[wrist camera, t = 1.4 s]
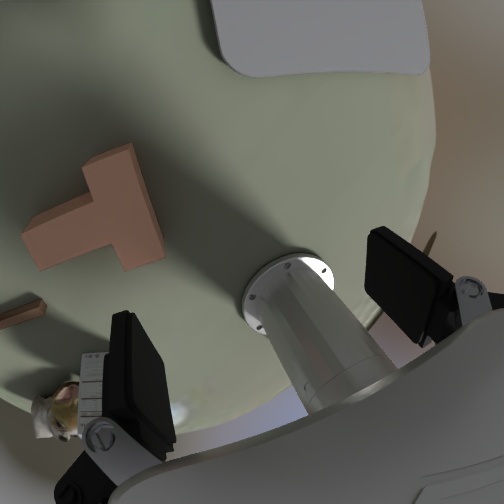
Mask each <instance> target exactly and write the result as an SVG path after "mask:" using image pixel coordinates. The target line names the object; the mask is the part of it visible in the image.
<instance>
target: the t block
mask: <svg viewBox="0 0 504 504" xmlns="http://www.w3.org/2000/svg"><path fill="white" fill-rule="evenodd" d="M82 171H83V173H84V176H85V179H86V182H87V184H88V187H89V190H90V192H88V193H86V194H83V195H81V196H78V197H76V198H74V199H71V200H69V201H67V202H65V203H62V204H60V205H58V206H56V207H53V208H51V209H49V210H47V211H45V212H43V213H41V214H39V215H36V216H34V217H33V219H32V220H31V221H30V222H29V224H28V225H27V226H26V228H25V229H24V230H23V232H22V233H21V234H20V235H21V237H22V239H23V241H24V243H25V245H26V247H27V249H28V251H29V253H30V255H31V257H32V258H33V260H34V262H35V264H36V266H37V267H38V269H39V271H42V270H45V269H47V268H50V267H52V266H55V265H57V264H60V263H62V262H65V261H67V260H70V259H72V258H75V257H77V256H80V255H83V254H85V253H88V252H91V251H93V250H96V249H99V248H101V247H104V246H107V245H109V244H112V245H113V248H114V250H115V252H116V254H117V256H118V258H119V260H120V263H121V265H122V267H123V269H124V271H128V270H131V269H134V268H137V267H140V266H143V265H146V264H149V263H152V262H155V261H158V260H161V259H164V258H166V256H165V248H164V239H163V235H162V233H161V230H160V227H159V224H158V221H157V219H156V216H155V213H154V210H153V207H152V204H151V201H150V198H149V195H148V192H147V189H146V186H145V183H144V180H143V177H142V173H141V170H140V167H139V164H138V160H137V157H136V154H135V150H134V147H133V144H132V142H131V143H128V144H125V145H122V146H119V147H117V148H114V149H111V150H109V151H106V152H104V153H101V154H99V155H96V156H94V157H91V158H90V159H89V160H88V161H87V162H86V163H85V165H84V166H83V167H82Z"/></svg>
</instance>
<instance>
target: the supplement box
mask: <svg viewBox="0 0 504 504" xmlns="http://www.w3.org/2000/svg"><path fill="white" fill-rule="evenodd" d="M107 353H109V352H96V353H83V354H82V359H81V370H80V381H79V396H78V417H77V433H78V436H79V437H80V438H81V439H82V433H83V430H84V428H85V427H86V425H87V424H88V423H89V422H90V421H92V420H93V419H96V418H98V417H102V380H103V362H104V356H105V354H107Z"/></svg>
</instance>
